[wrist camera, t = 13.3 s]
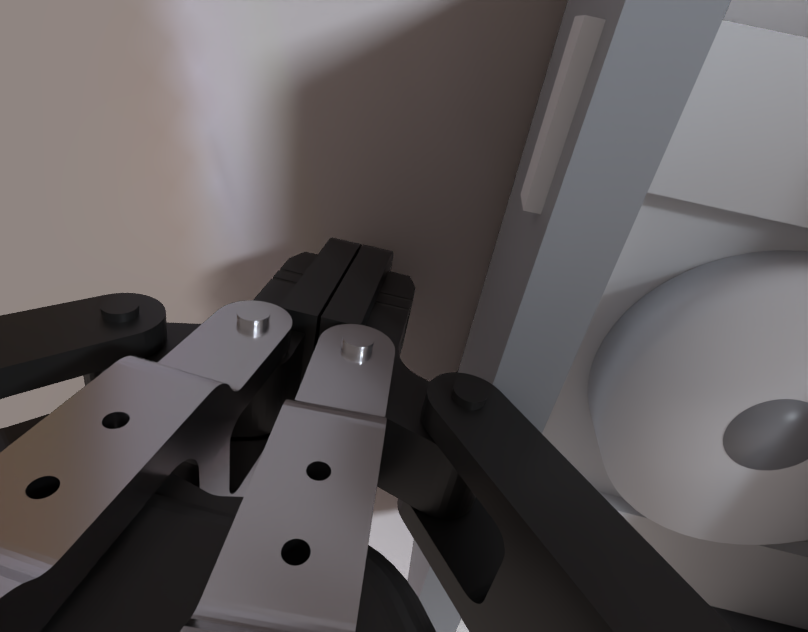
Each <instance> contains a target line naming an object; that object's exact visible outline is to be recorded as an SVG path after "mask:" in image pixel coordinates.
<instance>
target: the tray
mask: <svg viewBox="0 0 808 632" xmlns="http://www.w3.org/2000/svg"><path fill="white" fill-rule="evenodd" d="M730 2H731V0H568V2H567V5H566V8H565V12H564V15H563V19H562V22H561V25H560V29H559V32H558V36H557V39H556V42H555V46H554V49H553V52H552V56H551V59H550V63H549V66H548V69H547V73H546V76H545V79H544V83H543V86H542V90H541V93H540V96H539V100H538V103H537V106H536V110H535V113H534V117H533V120H532V123H531V127H530V130H529V133H528V137H527V140H526V144H525V147H524V150H523V154H522V157H521V160H520V164H519V167H518V171H517V174H516V177H515V181H514V184H513V188H512V191H511V194H510V198H509V201H508V204H507V208H506V211H505V215H504V218H503V221H502V225H501V228H500V231H499V235H498V238H497V242H496V245H495V248H494V252H493V255H492V258H491V262H490V265H489V269H488V272H487V275H486V279H485V282H484V285H483V289H482V292H481V296H480V299H479V302H478V306H477V309H476V312H475V316H474V319H473V323H472V326H471V329H470V333H469V336H468V340H467V343H466V346H465V350H464V353H463V356H462V360H461V363H460V367H459V370H458V373H466V374H471V375H474V376H477V377H480V378H482V379H484V380H486V381H488V382H490V383H491V384H492V385H494V386H495V387H496V388H497V389H499V390H500V391H501V392H502V393H503V394H504V395H505V396H506V397H507V398H508V400H509V401H510V402H511V403H512V404H513V405H514V406H515V407H516V408H517V409H518V410H519V411H520V412H521V413H522V414H523V415H524V416H525V417H526V418H527V419H528V420H529V421H530V422H531V423H532V424H533V425H534V426H535V427H536V428H537V429H538V430H539V431H540V432H541V433H542V434H543V435H544V436H545V437H546V438H547V439H548V440H549V441H550V443H551V444H552V445H553V446H554V447H555V448H556V449H557V450H558V451H559V452H560V453H561V454H562V455H563V456H564V457H565V458H566V459H567V460H568V461H569V462H570V463H571V464H572V465H573V466H574V467H575V468H576V469H577V470H578V471H579V472H580V473H581V474H582V475H583V476H584V477H585V478H586V479H587V480H588V481H589V482H590V483H591V484H592V485H593V487H594V488H595V489H596V490H597V491H598V492H599V493H600V494H601V495H602V496H603V497H604V498H605V499H606V500H607V501H608V502H609V503H610V504H611V505H612V506H613V507H614V508H615V509H616V510H617V511H618V512H619V513H620V514H621V515H622V516H623V517H624V518H625V519H626V520H627V521H628V522H629V523H630V524H631V525H632V526H633V527H634V528H635V530H636V531H637V532H638V533H639V534H640V535H641V536H642V537H643V538H644V539H645V540H646V541H647V542H648V543H649V544H650V545H651V546H652V547H653V548H654V549H655V550H656V551H657V552H658V553H659V554H660V555H661V556H662V557H663V558H664V559H665V560H666V561H667V562H668V563H669V564H670V565H671V566H672V567H673V568H674V569H675V570H676V571H677V572H678V574H679V575H680V576H681V577H682V578H683V579H684V580H685V581H686V582H687V583H688V584H689V585H690V586H691V587H692V588H693V589H694V590H695V591H696V592H697V593H698V594H699V595H700V596H701V597H702V598H703V599H704V600H705V601H706V602H707V603H708V604H709V605H710V606H714V607H718V608H722V609H726V610H730V611H734V612H738V613H742V614H746V615H750V616H754V617H758V618H762V619H766V620H770V621H774V622H778V623H782V624H786V625H790V626H794V627H798V628H802V629H806V630H808V540H804V541H798V542H790V543H782V544H766V545H741V544H729V543H719V542H713V541H708V540H703V539H698V538H694V537H691V536H687V535H684V534H680V533H678V532H675V531H673V530H670V529H668V528H665V527H663V526H661V525H659V524H657V523H655V522H653V521H652V520H650V519H648V518H647V517H645V516H644V515H642V514H641V513H639V512H638V511H636V510H635V509H634V508H633V507H632V506H631V505H630V504H629V503H628V502H626V501H625V500H624V499H623V497H622V496H621V495H620V494H619V492H618V491H617V490H616V489H615V487H614V486H613V484H612V482H611V480H610V479H609V477H608V475H607V472H606V470H605V467H604V464H603V461H602V457H601V453H600V449H599V445H598V441H597V437H596V434H595V430H594V426H593V422H592V418H591V414H590V409H589V403H588V381H589V375H590V370H591V367H592V364H593V361H594V358H595V355H596V353H597V351H598V349H599V347H600V345H601V344H602V342H603V340H604V338H605V337H606V335H607V334H608V333H609V331H610V330H611V328H612V327H613V326H614V324H615V323H616V322H617V321H618V320H619V319H620V318H621V317H622V316H623V315H624V313H625V312H626V311H627V310H628V309H629V308H631V307H632V306H633V305H634V304H635V303H636V302H638V301H639V300H640V299H641V298H642V297H644V296H645V295H646V294H648V293H649V292H651V291H652V290H654V289H655V288H657V287H658V286H660V285H661V284H663V283H665V282H667V281H668V280H670V279H672V278H674V277H676V276H678V275H680V274H682V273H684V272H686V271H689V270H691V269H693V268H696V267H698V266H701V265H703V264H706V263H709V262H713V261H716V260H719V259H723V258H726V257H730V256H735V255H741V254H746V253H751V252H761V251H773V250H792V251H807V252H808V38H807V37H802V36H797V35H793V34H788V33H783V32H778V31H774V30H769V29H764V28H759V27H754V26H750V25H745V24H740V23H735V22H730V21H726V20H723V18H724V16H725V14H726V11H727V9H728V7H729V4H730ZM408 583H409V584H410V586H411V587H412V589H413V590H414V592H415V593H416V594H417V596H418V598H419V600H420V601H421V603H422V605H423V607H424V609H425V611H426V613H427V615H428V617H429V619H430V621H431V622H432V624H433V626H434V628H435V630H436V632H456V629H457V627H458V625H459V623H460V620H461V617H460V615H459V613H458V612H457V610H456V608H455V607H454V605H453V603H452V602H451V600H450V598H449V597H448V595H447V593H446V592H445V590H444V588H443V586H442V585H441V583H440V581H439V580H438V578H437V576H436V575H435V573H434V571H433V570H432V568H431V566H430V565H429V563H428V561H427V560H426V558H425V556H424V555H423V553H422V551H421V550H420V548H419V546H418V545H417V543H416V541H415V540H414V541H413V548H412V555H411V562H410V568H409V575H408Z"/></svg>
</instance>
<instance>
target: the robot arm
mask: <svg viewBox="0 0 808 632" xmlns="http://www.w3.org/2000/svg"><path fill="white" fill-rule="evenodd" d="M392 259H393V252H392V251H388V250H384V249H379V248H375V247H371V246H367V245H363V246H362V245H361V244H358V243H353V242H349V241H345V240H340V239H336V238H330V239H329V241H328V242H327V243H326V245H325V246H324V247H323V249H322V250H321V251H320V253H319V254H318V255H317V254H313V253H308V252H304V253H301V254H299V255H296V256H294V257H292V258H289V259H288V260H287V262H286V263H285V264H284V265H283V266H282V267H281V269H280V271H278V272H277V273H276V274H275V275H274V277H273V279H271V280H270V281H269V282H268V284H267V285H266V286H265V287H264V288H263V289H262V291H261V292H260V293H259V294H258V295H257V296H256V297H255V299H254V300H249V301H238V302H234V303H230V304H228V305H225V306H223V307H222V308H220V309H219V310H217V311H216V312H215V313H214V314H213V315H212V316H211V317H209V318H208V319H207V320H206V321H205V322H204V323H202V324H187V323H166V311H165V307H164V306H163V304H162V303H160V302H159V301H158V300H156V299H154V298H152V297H150V296H146V295H142V294H135V293H116V294H108V295H103V296H98V297H93V298H88V299H83V300H78V301H73V302H68V303H62V304H57V305H52V306H47V307H42V308H37V309H32V310H27V311H22V312H17V313H12V314H7V315H2V316H0V399H2V398H5V397H9V396H12V395H16V394H19V393H23V392H26V391H30V390H33V389H37V388H40V387H44V386H47V385H51V384H54V383H58V382H61V381H65V380H69V379H72V378H76V377H79V376H82V375H83V376H84V382H85V387H84V388H82V389H81V390H80V391H78V392H77V393H76V394H75V395H73V396H72V397H71V398H69V399H68V400H67V401H66V402H64V403H63V404H62V405H60V406H59V407H58V408H57V409H55V410H54V411H53V412H52V413H51V414H47V415H44V416H41V417H38V418H35V419H31V420H28V421H25V422H22V423H19V424H15V425H12V426H9V427H6V428H1V429H0V632H436V630H435V628H434V626H433V624H432V622H431V621H430V619H429V617H428V615H427V613H426V611H425V609H424V607H423V605H422V603H421V601H420V600H419V598H418V596H417V594H416V593H415V592H414V590H413V589H412V587H411V586H410V584H409V583H408V581H407V580H406V579H405V578H404V577H403V575H402V574H401V573H400V572H399V571H398V570H397V569H396V567H395V566H394V565H393V564H392V563H391V562H389V561H388V560H387V559H386V558H385V557H384V556H383V555H382V554H381V553H379V552H378V551H376V550H375V549H374V548H372V547H371V546H369V545H368V543H369V536H370V529H371V523H372V516H373V509H374V503H375V496H376V489H377V486H378V487H380V488H381V489H383V490H385V491H386V492H388V493H390V494H392V495H393V496H395V497H397V498H398V510H399V514H400V516H401V518H402V520H403V521H404V523H405V525H406V526H407V528H408V530H409V531H410V533H411V535H412V536H413V538H414V540H415V541H416V543H417V545H418V546H419V548H420V550H421V551H422V553H423V555H424V556H425V558H426V560H427V561H428V563H429V565H430V566H431V568H432V570H433V571H434V573H435V575H436V576H437V578H438V580H439V581H440V583H441V585H442V586H443V588H444V590H445V592H446V593H447V595H448V597H449V598H450V600H451V602H452V603H453V605H454V607H455V608H456V610H457V612H458V613H459V615H460V617H461V618H462V620H463V622H464V623H465V625H466V627H467V628H468V630H469V632H735V631H734V630H733V629H732V628H731V627H730V626H729V625H728V624H727V623H726V622H725V621H724V620H723V619H722V618H721V617H720V615H719V614H718V613H717V612H716V611H715V610H714V609H713V608H712V607H711V606H710V605H709V604H708V603H707V602H706V601H705V600H704V599H703V598H702V597H701V596H700V595H699V594H698V593H697V592H696V591H695V590H694V589H693V588H692V587H691V586H690V585H689V584H688V583H687V582H686V581H685V580H684V579H683V578H682V577H681V576H680V575H679V574H678V572H677V571H676V570H675V569H674V568H673V567H672V566H671V565H670V564H669V563H668V562H667V561H666V560H665V559H664V558H663V557H662V556H661V555H660V554H659V553H658V552H657V551H656V550H655V549H654V548H653V547H652V546H651V545H650V544H649V543H648V542H647V541H646V540H645V539H644V538H643V537H642V536H641V535H640V534H639V533H638V532H637V531H636V530H635V528H634V527H633V526H632V525H631V524H630V523H629V522H628V521H627V520H626V519H625V518H624V517H623V516H622V515H621V514H620V513H619V512H618V511H617V510H616V509H615V508H614V507H613V506H612V505H611V504H610V503H609V502H608V501H607V500H606V499H605V498H604V497H603V496H602V495H601V494H600V493H599V492H598V491H597V490H596V489H595V488H594V487H593V485H592V484H591V483H590V482H589V481H588V480H587V479H586V478H585V477H584V476H583V475H582V474H581V473H580V472H579V471H578V470H577V469H576V468H575V467H574V466H573V465H572V464H571V463H570V462H569V461H568V460H567V459H566V458H565V457H564V456H563V455H562V454H561V453H560V452H559V451H558V450H557V449H556V448H555V447H554V446H553V445H552V444H551V443H550V441H549V440H548V439H547V438H546V437H545V436H544V435H543V434H542V433H541V432H540V431H539V430H538V429H537V428H536V427H535V426H534V425H533V424H532V423H531V422H530V421H529V420H528V419H527V418H526V417H525V416H524V415H523V414H522V413H521V412H520V411H519V410H518V409H517V408H516V407H515V406H514V405H513V404H512V403H511V402H510V401H509V400H508V398H507V397H506V396H505V395H504V394H503V393H502V392H501V391H500V390H499V389H497V388H496V387H495V386H494V385H492V384H491V383H490V382H488V381H486V380H484V379H482V378H480V377H477V376H474V375H471V374H466V373H458V372H454V373H445V374H442V375H439V376H437V377H435V378H434V379H433V380H432V381H431V382H429V381H427V380H425V379H423V378H421V377H419V376H417V375H416V374H414V373H413V372H412V371H410V370H409V369H408V368H407V367H406V366H405V365H404V364H403V362H402V361H401V359H400V352H401V349H402V345H403V341H404V337H405V333H406V328H407V324H408V319H409V315H410V310H411V306H412V301H413V297H414V292H415V286H414V284H413V282H412V280H411V278H410V276H407V275H402V274H398V273H394V272H390V270H391V265H392Z"/></svg>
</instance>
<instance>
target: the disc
mask: <svg viewBox="0 0 808 632" xmlns="http://www.w3.org/2000/svg"><path fill="white" fill-rule="evenodd" d="M588 403H589V409H590V414H591V418H592V422H593V426H594V430H595V434H596V437H597V441H598V445H599V449H600V453H601V457H602V461H603V464H604V467H605V470H606V472H607V475H608V477H609V479H610V480H611V482H612V484H613V486H614V487H615V489H616V490H617V491H618V492H619V494H620V495H621V496H622V497H623V499H624V500H625V501H626V502H628V503H629V504H630V505H631V506H632V507H633V508H634V509H635V510H636V511H638V512H639V513H641V514H642V515H644V516H645V517H647V518H648V519H650V520H652V521H653V522H655V523H657V524H659V525H661V526H663V527H665V528H668V529H670V530H673V531H675V532H678V533H680V534H684V535H687V536H691V537H694V538H698V539H703V540H708V541H713V542H719V543H729V544H741V545H766V544H782V543H790V542H798V541H804V540H808V252H807V251H792V250H773V251H761V252H751V253H746V254H741V255H735V256H730V257H726V258H723V259H719V260H716V261H713V262H709V263H706V264H703V265H701V266H698V267H696V268H693V269H691V270H689V271H686V272H684V273H682V274H680V275H678V276H676V277H674V278H672V279H670V280H668V281H667V282H665V283H663V284H661V285H660V286H658V287H657V288H655V289H654V290H652V291H651V292H649V293H648V294H646V295H645V296H644V297H642V298H641V299H640V300H639V301H638V302H636V303H635V304H634V305H633V306H632V307H631V308H629V309H628V310H627V311H626V312H625V313H624V315H623V316H622V317H621V318H620V319H619V320H618V321H617V322H616V323H615V324H614V326H613V327H612V328H611V330H610V331H609V333H608V334H607V335H606V337H605V338H604V340H603V342H602V344H601V345H600V347H599V349H598V351H597V353H596V355H595V358H594V361H593V364H592V367H591V370H590V375H589V381H588Z"/></svg>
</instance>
